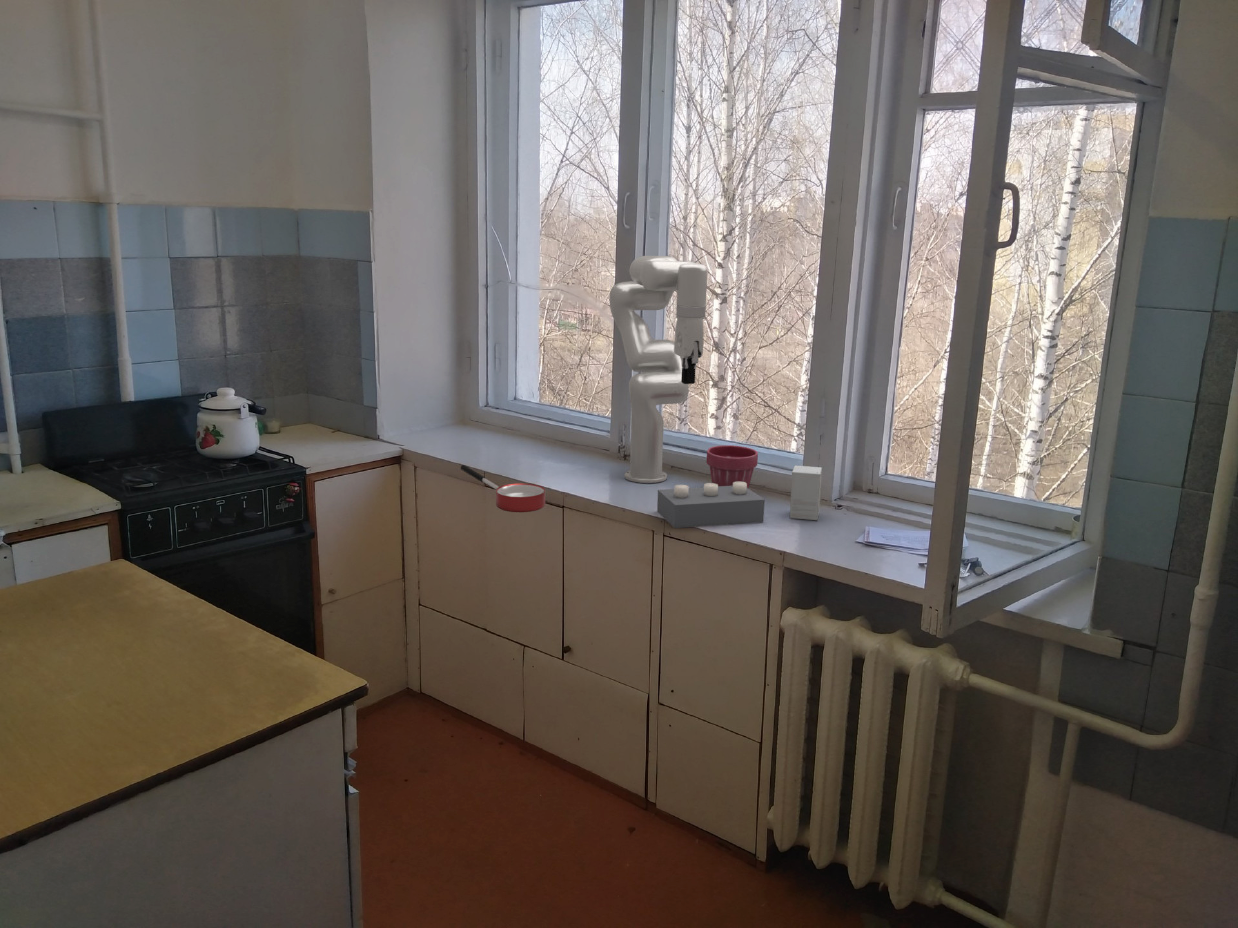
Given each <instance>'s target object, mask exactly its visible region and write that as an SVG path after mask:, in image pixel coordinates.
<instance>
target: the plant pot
mask: <svg viewBox="0 0 1238 928" xmlns="http://www.w3.org/2000/svg"><path fill="white" fill-rule="evenodd" d="M758 457H759V453H758V451H757V450H755V449H753V448H750V447H747V446H746V447H745V446H741V445H733V444H732V445H726V444H725V445H715V446H711V447H708V449H707V450H706V461H705V462H706V464H707V465H708V467H709V471H710V479H711V483H715V484H717V485H718V486H733V482H738V481H740V482H745V483H747V488H748V489H750V484H751V481H752V476H753V472H754V470H755V468H756V467H757V466H758Z"/></svg>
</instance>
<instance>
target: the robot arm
mask: <svg viewBox="0 0 1238 928" xmlns="http://www.w3.org/2000/svg"><path fill="white" fill-rule="evenodd" d="M629 276H630V277H631V279H632V281H621V282H619V283H616V284H615V285H613V286H612V287H611V288H610V291H609V297H608V300H609V310H610V313H611V316H612V318H613V321H614V322H615V324H616V327H617V328H618V330H619V333H620V336H621V340H622V344H623V348H624V349H623V350H624V354H625V357H626V358H625V359H626V361H627V365H628V366H629V368H630V370H631V371H633V372H635V374H634V375H633V376H632V377H630V379H629V382H628V394H629V401H630V415H631V416H630V457H629V458H630V461H629V470H627V471H626V472H624V478H625V480H627V481H630V482H632V483H639V484H641V483H642V484H654V483H660V482H664V481H666V480H667V479H668V474H667V473H666V472H665V471H663V456H664V455H663V453H664V452H663V451H664V427H665V425H664V418H663V416H662V414H661V412H660V411H659V409H658V408H657V406H660V405H675V404H681V403H684V402H686V400H687V398H688V397H689V390H690V389H689V385H694V384H695V383H696V369H697V365H698V363H699V359H700V358H702V357H703V353H704V320H705V319H706V314H707V313H706V309H707V291H708V289H707V288H708V268H707V266H706V265H705V264H703V263H702V264H701V263H696V262H694V261H679V260H677V258H675V257H674V256H671V255H642V256H638V257H637V258H635V259H634V260H633V261H632V262H631V264H630V267H629ZM675 291H676V313H675V319H676V323H675V331H674V341H673V340H671V339H654V338H652V336H651V333H650V331H651V330H650V328H649V326H648V324H647V323H646V321H645V320H644V319H643V317H642V316H640V315H639V314H638V313H636V311H661V310H664V309H665V308H666V307H668V304H669V303H670V301H671V298H673V297H672V296H673V295H674V293H675Z"/></svg>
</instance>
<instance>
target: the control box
mask: <svg viewBox="0 0 1238 928" xmlns="http://www.w3.org/2000/svg"><path fill="white" fill-rule="evenodd" d="M732 491H733V486H718V495H717V496H706V495H704V486H702V487H701V486H700V487H689V491H688V497H686V498H677V497H675V496H674V488H670V489H668V488H667V489H658V490H657V504H656V505H657V506H656V507H657V509H656V513H658V514H659V515H660V516H661V517H662V518H663V519H664V520H665V521H666V522H667V523H668V524H670V525H671V527H672V528H673V529H680V528H681V529H682V528H683V529H684V528H695V527H696V528H697V527H710V526H711V527H713V526H727V525H728V526H729V525H739V524H741V525H743V524H755V523H757V524H758V523H764V518H765V517H764V515H765V499H764V498H763V497H761V495H758V494H757V493H756V492H754V491H752V490H751V489H750V488H747V491H746V494H742V495H740V494H734V493H733V492H732Z"/></svg>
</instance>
